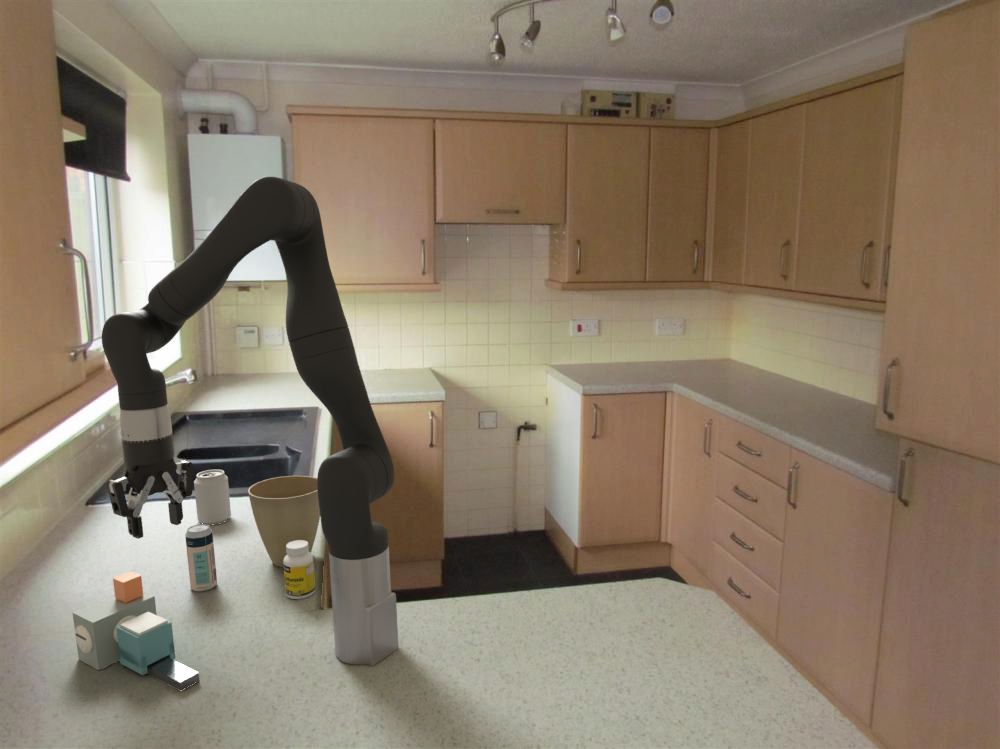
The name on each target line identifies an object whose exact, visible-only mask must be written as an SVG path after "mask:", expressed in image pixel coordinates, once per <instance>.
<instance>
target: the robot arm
mask: <svg viewBox="0 0 1000 749" xmlns="http://www.w3.org/2000/svg"><path fill="white" fill-rule="evenodd" d="M315 198H316V197H314V195H313V193H311V192H310V190H308V189H307V188H306V187H305V186H303V185H301V184H299V183H296V182H293V181H290V180H288V179H286V178H285V179H284V178H281V177H277V176H264V177H259V178H257V179H256V180H255V181H252V182H251V184H250V185H248V186H247V188H245V190H244V191H243V192H242V193H241V194H240V195H239V197H238V198H237V199H236V200H235V202H234V203H233V204H232V206H231V207H230V208H229V210H227V212H226V214H225V215H224V216H223V217H222V218H221V220H220V221H219V222H218V223H217V224H216V225H215V227H214V228H212V230H211V231H210V233H209V234H208V235H207V236H206V237H205V238H204V239H203V241H202V242H201V243H200V244H199V245H198V246H197V247H196V248H195V249H194V250H193V251H192V252H191V253H190V254H189V255H188V256H187V257H185V259H184V260H183V261H181V263H179V264H178V265H177V266H176V267H175V268H173V269H172V270H171V271H170V272H169V273H167V275H165V276H164V277H163V278H162V279H161V280H160V281H158V282H157V283H156V284H155V285H154V286H153V287H152V288H151V290H150V291H149V293H148V297H147V301H148V303H147V304H146V305H145V306H142V307H141V308H140V309H139V310H133V311H126V312H120V313H119V312H117V313H115V314H113V315H111V316H110V317H109V318H107V320H106V321H105V322H104V324H103V326H102V331H101V345H102V350H103V351H104V352H103V353H104V354H105V357H106V359H107V362H108V365H109V367H110V370H111V372H112V374H113V377H114V379H115V381H116V384H117V392H118V393H117V394H118V403H119V427H120V428H119V429H120V432H119V433H120V437H121V445H122V453H123V454H122V455H123V463H124V465H125V473H124V475H123V477H120V478H118V479H115V480H113V479H109V480H107V481H106V488H107V492H108V497H109V500H110V503H111V508H112V512H113V515H117V516H119V517H122V518H126V521H127V529H128V534H129V535H130V536H132V537H133V538H136V539H139V540H140V539H141V538H144V527H143V521H142V518H143V517H142V516H141V512H142V510H143V506H144V505H145V504H146V502H147V500H148V497H150V496H153V495H154V494H156V493H164V495H165V496H166V498H167V499H168V500H169V502H167V504H168V505H167V506H168V514H169V522H170V524H171V525H174V526H178V525H181V524H182V521H183V518H184V513H183V512H184V511H183V501H184V499H186V498H188V497H191V496H192V495H193V485H194V480H193V474H194V472H193V471H194V468H193V466H194V465H193V463H192V462H191V461H188V460H182V459H181V460H179V461H177V462H175V459H174V457H175V454H176V453H175V445H174V436H173V426H172V418H171V413H170V408H169V404H168V394H167V384H166V378H165V375H164V373H163V372H162V371H161V370H159V369H156V368H152V367H151V365H150V362H149V358H148V354H150V353H151V354H152V353H154V352H156V351H159V350H160V349H162V348H164V347H165V346H166V345H167V344H169V342H171V341H172V340H173V339H174V338H175V337H176V335H177V334H178V332H180V330H181V329H182V327H183V326H184V325H185V323H186V321H187V320H189V319H191V317H193V316H194V315H196V314H197V313H198V312H199V311H200V310H202V309H203V308H204V307H205V306H206V305H207V304H208V303H209V302H211V301H212V300H213V299H214V298H215V297H216V296H217V295H218V293H220V291H221V290H222V289H223V287H224V286H225V285H226V284H225V283H226V282H227V280H228V279H229V277H230V275H231V274H232V272H233V270H234V269H235V268H236V266H237V265H238V264H239V263H240V262H241V261H242V260H243V259H244V258H245V257H246V256H247V255H249V254H250V253H251V252H253V251H255V250H256V249H258V248H259V247H261V246H263V245H264V244H267V243H268V242H270V241H274V242H275V244H276V247H277V250H278V253H279V256H280V258H281V262H282V264H283V268H284V271H285V276H286V281H287V282H286V285H287V290H286V291H287V293H286V294H287V295H286V296H287V297H286V305H285V306H286V308H285V328H286V330H285V331H286V335H287V340H288V343H289V347H290V351H291V354H292V357H293V360H294V364H295V367H296V370H297V372H298V374H299V377H301V380H302V382H304V383H305V385H306V386H307V388H308V389H309V390H310V391H311V393H313V395H314V396H315V397H316V398H317V399H318V400H319V401H320V403H321V404H322V405H323V406H324V407H325V408H326V410H327V411H328V412H329V413H330V415H331V418H332V419H333V421H334V423H335V426H336V429H337V431H338V435H339V437H340V442H341V446H342V449H343V450H341V451H338V452H335V453H333V454H331V455H329V456H328V457H326V458H325V459H324V460H323V461H322V462H321V464H320V465H319V468H318V471H317V477H316V478H317V492H318V501H319V509H320V523H321V524H320V525H321V529H322V533H323V536H324V538H325V539H326V543H327V547H328V557H329V559H328V560H329V573H330V574H329V577H330V594H331V607H332V620H333V622H332V624H333V636H334V637H333V638H334V651H335V656H336V658H337V659H338V660H340V661H341V662H343V663H346V664H350V665H369V666H371V667H373V666H375V665H376V664H378V663H379V662H380V661H383V659H385V658H386V657H388V656H389V655H390V654H392V653H394V652H395V651H397V650H398V649H399V632H398V631H399V629H398V614H397V613H398V610H397V608H398V607H397V595H396V592H392V589H391V587H392V586H391V569H390V546H389V533H388V529H387V527H385V526H384V524H382V523H380V522H376V521H373V520H372V515H371V505H370V504H372V503H374V502H376V501H377V500H380V499H381V498H382V497H384V496H385V495H387V494H388V493H389V492H390V491H391V489H392V488H393V485H394V482H395V466H394V462H393V459H392V455H391V453H390V451H389V447H388V445H387V443H386V440H385V438H384V434H383V432H382V430H381V427H380V426H379V423H378V420H377V418H376V415H375V413H374V412H375V411H374V410H373V407H372V405H371V401H370V398H369V395H368V391H367V388H366V384H365V382H364V378H363V375H362V371H361V369H360V368H361V367H360V365H359V361H358V358H357V354H356V350H355V349H356V348H355V346H354V343H353V341H354V340H353V338H352V334H351V331H350V328H349V324H348V321H347V319H346V316H345V312H344V309H343V306H342V302H341V299H340V295H339V292H338V289H337V285H336V281H335V279H334V276H333V273H332V270H331V265H330V261H329V256H328V252H327V246H326V239H325V236H324V229H323V224H322V218H321V212H320V209H319V206H318V202H317V200H316V199H315ZM175 474H177V484H176V482H174V480H173V478H174V476H175ZM127 485H128V486H129V487H130V489H129V492H128V496H127V498H126V494H125V492H126V491H127ZM138 494H139V495H138Z"/></svg>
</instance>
